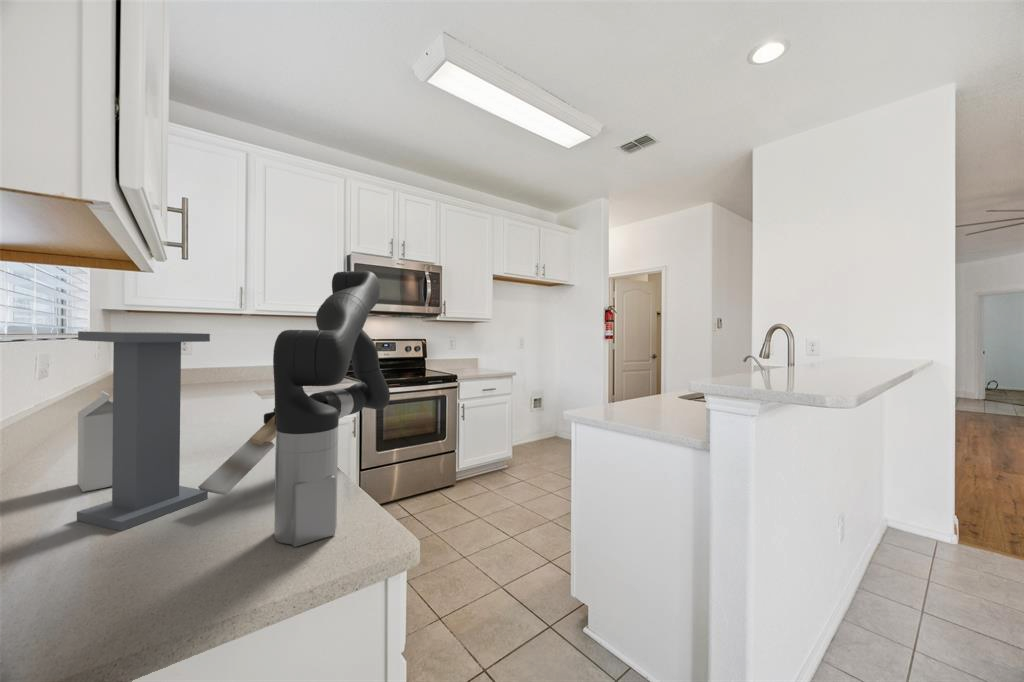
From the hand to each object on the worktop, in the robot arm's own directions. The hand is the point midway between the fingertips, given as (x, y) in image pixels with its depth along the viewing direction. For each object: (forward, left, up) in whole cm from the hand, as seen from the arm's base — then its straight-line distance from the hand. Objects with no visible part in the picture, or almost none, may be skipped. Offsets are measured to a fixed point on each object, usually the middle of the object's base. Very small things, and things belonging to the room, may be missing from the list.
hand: (270, 419), depth 85 cm
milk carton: (+24, +25, -15) cm, 38 cm away
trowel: (-1, +3, -5) cm, 6 cm away
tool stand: (+3, +19, -14) cm, 24 cm away
